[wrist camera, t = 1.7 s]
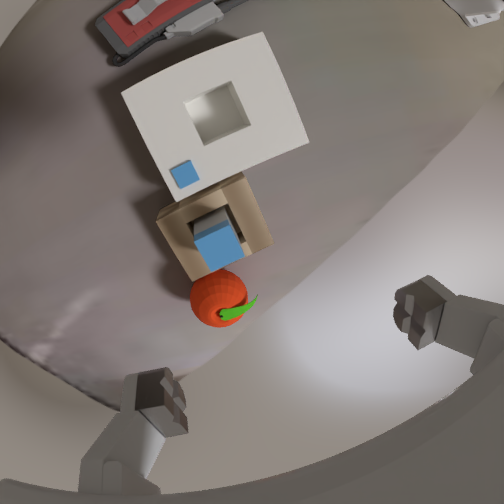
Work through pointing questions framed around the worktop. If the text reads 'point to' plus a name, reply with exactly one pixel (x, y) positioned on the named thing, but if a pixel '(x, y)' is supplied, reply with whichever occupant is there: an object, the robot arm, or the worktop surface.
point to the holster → (206, 200)
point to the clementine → (219, 298)
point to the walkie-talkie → (156, 22)
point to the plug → (217, 239)
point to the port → (216, 114)
